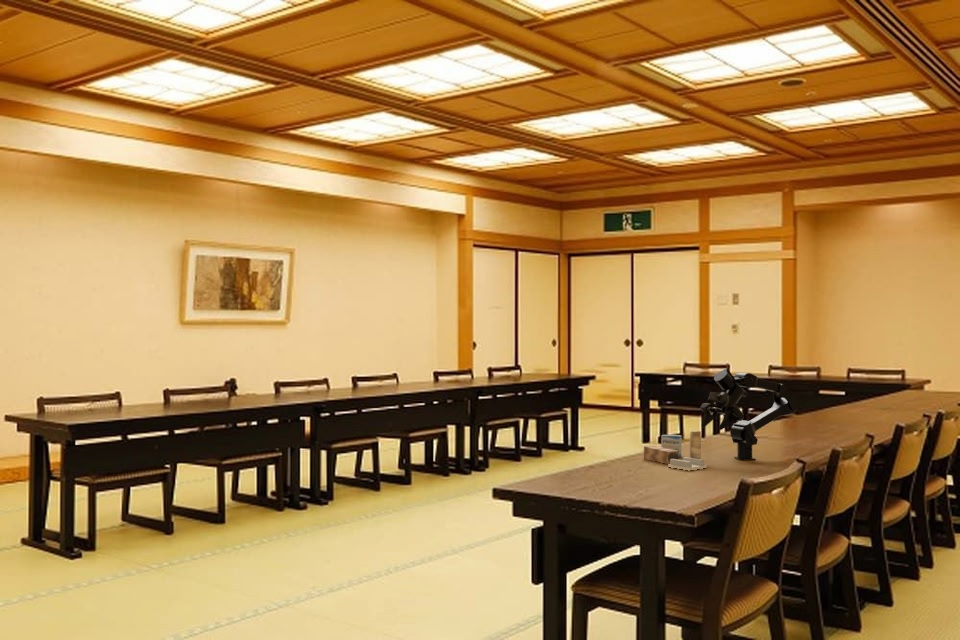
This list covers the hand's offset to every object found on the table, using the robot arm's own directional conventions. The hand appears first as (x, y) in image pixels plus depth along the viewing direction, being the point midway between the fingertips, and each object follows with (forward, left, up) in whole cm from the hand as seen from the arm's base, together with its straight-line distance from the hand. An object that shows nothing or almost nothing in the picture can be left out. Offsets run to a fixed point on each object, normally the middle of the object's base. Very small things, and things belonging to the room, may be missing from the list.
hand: (710, 428), depth 349 cm
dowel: (+2, -7, -13) cm, 15 cm away
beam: (-6, -18, -13) cm, 23 cm away
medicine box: (-18, -9, -14) cm, 24 cm away
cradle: (+11, -14, -13) cm, 22 cm away
